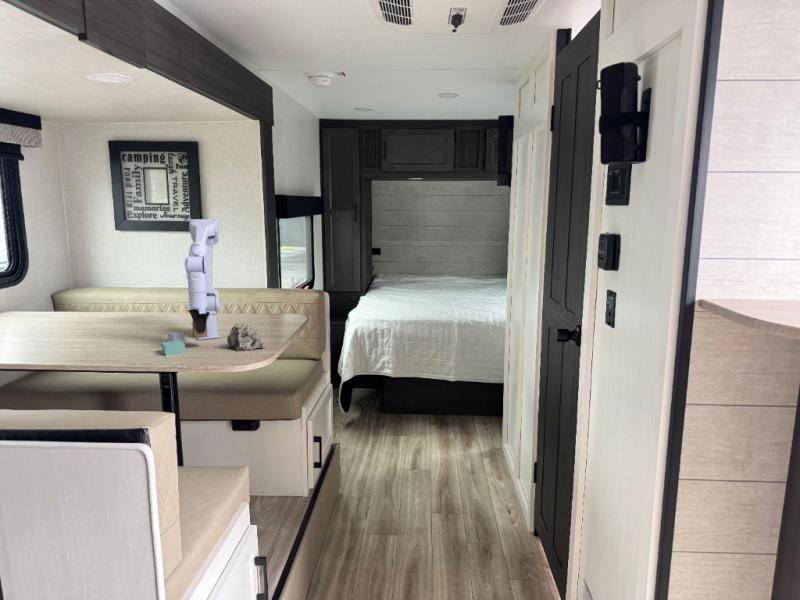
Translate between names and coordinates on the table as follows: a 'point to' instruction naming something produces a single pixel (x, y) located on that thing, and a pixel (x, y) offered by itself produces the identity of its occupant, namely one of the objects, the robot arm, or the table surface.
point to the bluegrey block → (176, 336)
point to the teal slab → (173, 347)
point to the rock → (244, 338)
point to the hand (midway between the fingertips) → (199, 331)
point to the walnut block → (195, 333)
